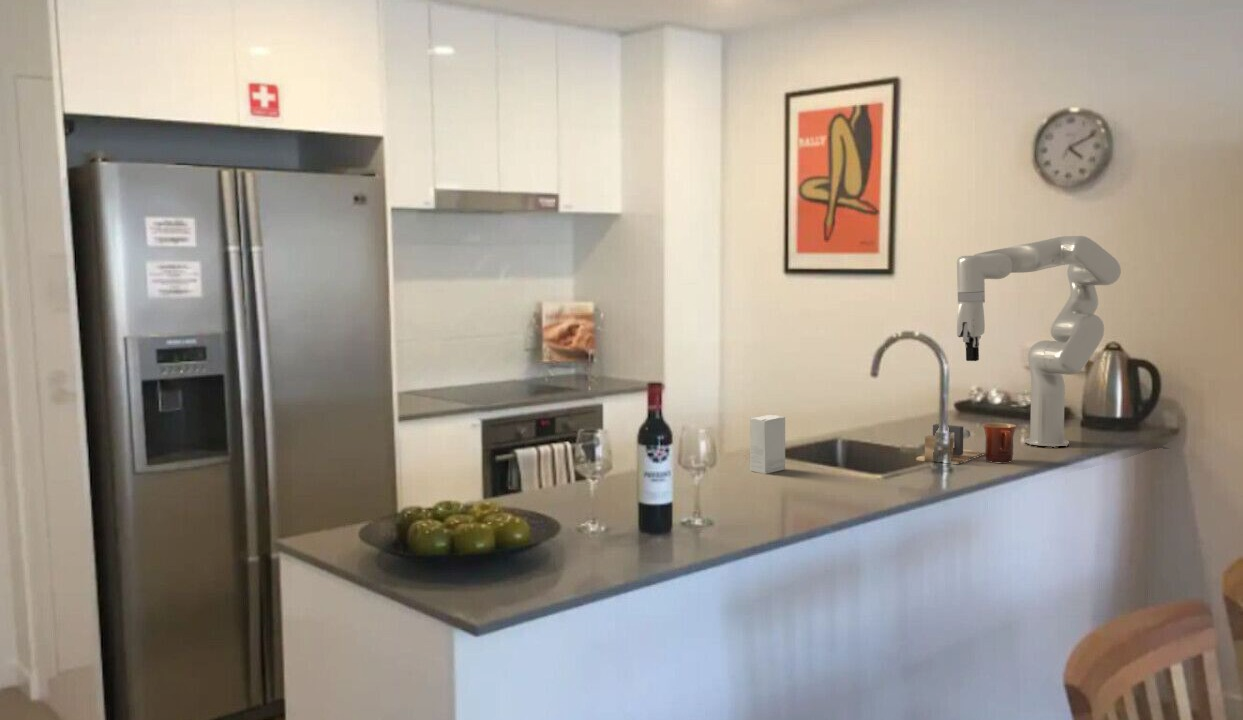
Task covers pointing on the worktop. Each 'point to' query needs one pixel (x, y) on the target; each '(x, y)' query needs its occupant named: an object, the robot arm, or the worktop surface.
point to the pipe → (965, 434)
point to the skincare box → (767, 444)
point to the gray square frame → (957, 437)
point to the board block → (954, 458)
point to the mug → (999, 441)
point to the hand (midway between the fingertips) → (972, 360)
